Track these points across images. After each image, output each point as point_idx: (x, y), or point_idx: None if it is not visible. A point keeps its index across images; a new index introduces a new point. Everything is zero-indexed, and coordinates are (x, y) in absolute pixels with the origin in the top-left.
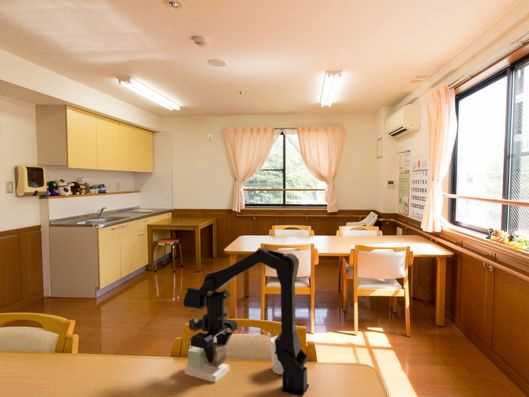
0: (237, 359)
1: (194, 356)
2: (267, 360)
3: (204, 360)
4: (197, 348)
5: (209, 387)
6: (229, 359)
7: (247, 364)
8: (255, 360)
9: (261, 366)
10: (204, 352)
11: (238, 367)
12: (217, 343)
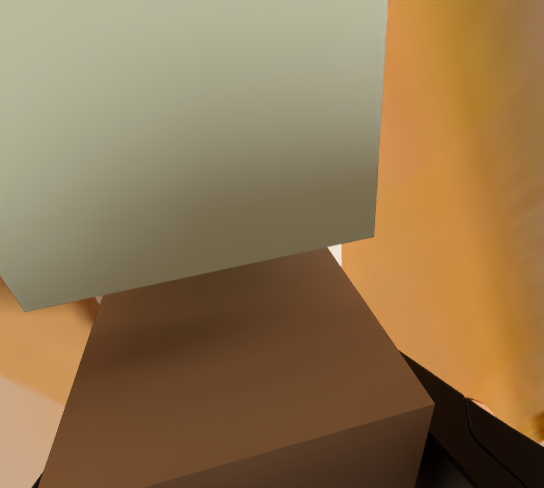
0: (506, 211)
1: None
2: (522, 343)
3: (104, 307)
4: (147, 15)
5: (61, 347)
6: (494, 159)
7: (451, 304)
8: (512, 303)
9: (449, 364)
10: (67, 420)
11: (396, 293)
12: (435, 450)
